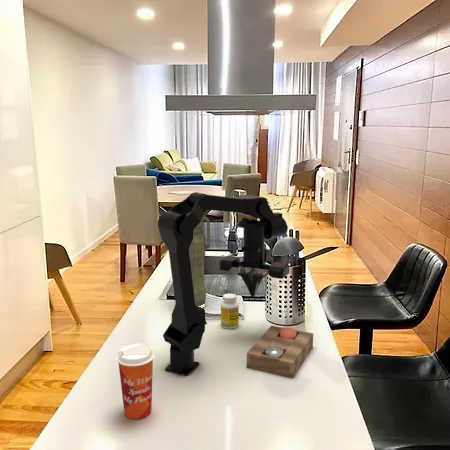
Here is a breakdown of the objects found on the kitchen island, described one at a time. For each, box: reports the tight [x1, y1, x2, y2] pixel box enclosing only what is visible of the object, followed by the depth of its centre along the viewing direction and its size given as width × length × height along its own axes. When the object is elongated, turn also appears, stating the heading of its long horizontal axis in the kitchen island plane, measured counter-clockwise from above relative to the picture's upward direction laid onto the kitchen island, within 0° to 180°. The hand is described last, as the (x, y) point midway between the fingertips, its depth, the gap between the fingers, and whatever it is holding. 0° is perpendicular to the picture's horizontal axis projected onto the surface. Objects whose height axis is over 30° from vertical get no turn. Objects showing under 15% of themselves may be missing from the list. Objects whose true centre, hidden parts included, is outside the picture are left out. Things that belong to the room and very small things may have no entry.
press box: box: [246, 325, 314, 379], centre depth 123 cm, size 18×12×4 cm, turn 154°
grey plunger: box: [264, 346, 284, 358], centre depth 118 cm, size 4×4×3 cm
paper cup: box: [116, 343, 156, 420], centre depth 99 cm, size 8×8×14 cm
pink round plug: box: [280, 326, 297, 340], centre depth 128 cm, size 4×4×3 cm
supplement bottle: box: [220, 293, 240, 330], centre depth 142 cm, size 5×5×10 cm
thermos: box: [187, 213, 211, 306], centre depth 155 cm, size 9×12×35 cm
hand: (253, 296), depth 131 cm, fingers closed
